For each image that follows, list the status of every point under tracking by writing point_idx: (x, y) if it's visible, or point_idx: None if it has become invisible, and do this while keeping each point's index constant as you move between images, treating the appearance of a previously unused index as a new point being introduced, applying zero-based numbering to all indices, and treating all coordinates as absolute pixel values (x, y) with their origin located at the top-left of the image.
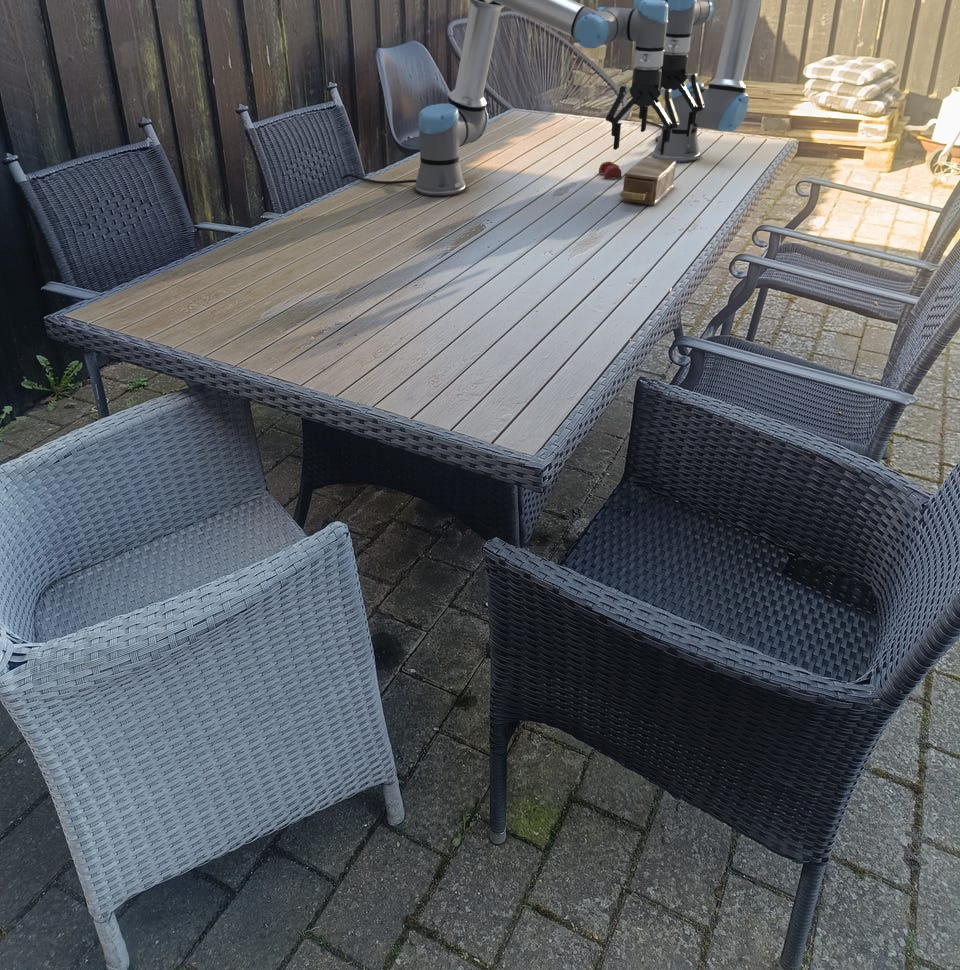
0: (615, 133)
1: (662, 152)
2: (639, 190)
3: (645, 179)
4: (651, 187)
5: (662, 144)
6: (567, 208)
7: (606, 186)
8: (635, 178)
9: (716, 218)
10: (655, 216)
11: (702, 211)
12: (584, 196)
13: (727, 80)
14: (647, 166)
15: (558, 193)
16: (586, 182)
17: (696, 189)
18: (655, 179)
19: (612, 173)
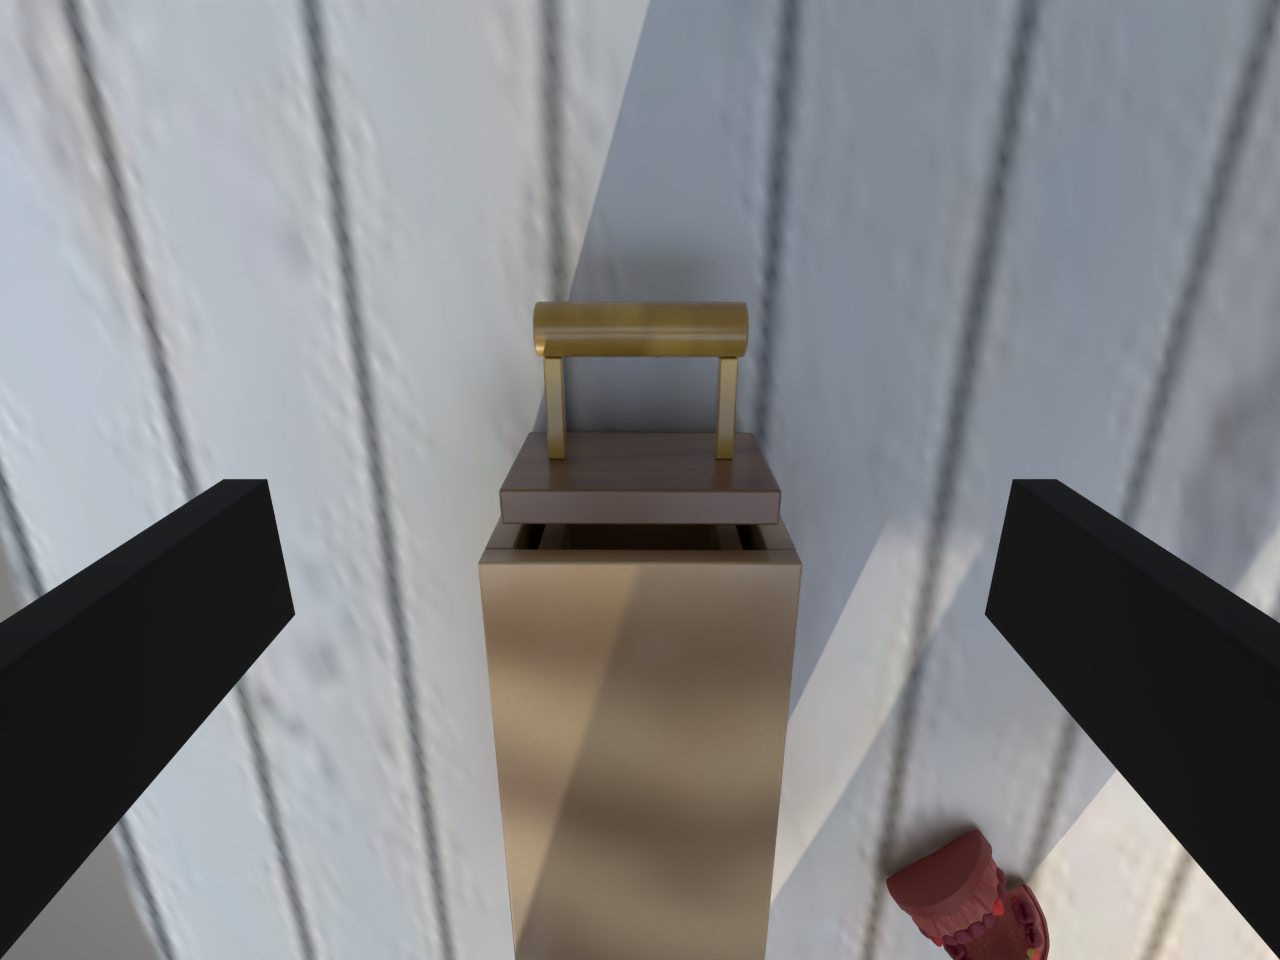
0: (1243, 611)
1: (214, 494)
2: (624, 460)
3: None
4: (518, 472)
5: (147, 553)
6: (1136, 102)
7: (935, 709)
8: None
9: (39, 391)
10: (422, 235)
11: (192, 494)
12: (1045, 458)
13: None
14: (670, 807)
15: (1250, 443)
16: (1078, 731)
17: (414, 851)
18: (501, 552)
19: (945, 869)
